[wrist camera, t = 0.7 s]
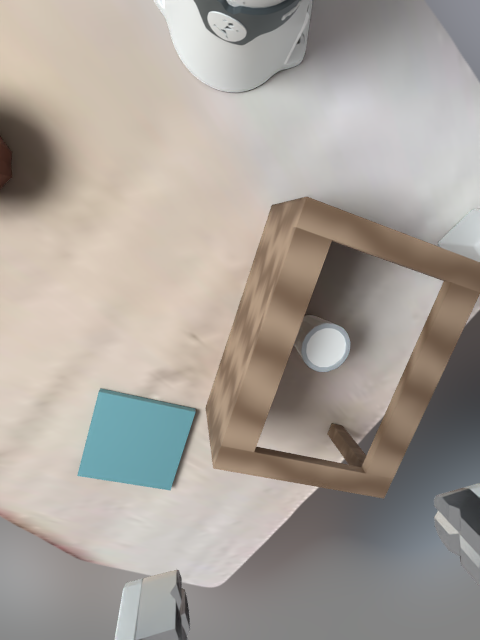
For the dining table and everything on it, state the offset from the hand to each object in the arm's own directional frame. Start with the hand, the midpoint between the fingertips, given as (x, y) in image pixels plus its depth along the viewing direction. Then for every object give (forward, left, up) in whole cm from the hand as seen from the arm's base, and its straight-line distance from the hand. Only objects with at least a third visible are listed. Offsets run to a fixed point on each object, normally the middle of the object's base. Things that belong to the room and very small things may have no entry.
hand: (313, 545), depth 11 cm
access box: (+1, +16, -40) cm, 43 cm away
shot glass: (+1, +16, -40) cm, 43 cm away
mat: (+24, -4, -40) cm, 47 cm away
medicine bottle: (-19, +35, -41) cm, 56 cm away
